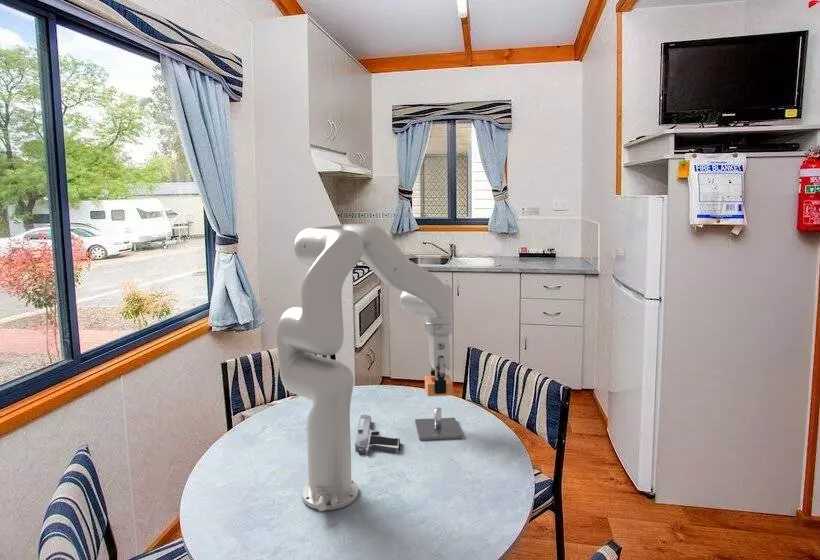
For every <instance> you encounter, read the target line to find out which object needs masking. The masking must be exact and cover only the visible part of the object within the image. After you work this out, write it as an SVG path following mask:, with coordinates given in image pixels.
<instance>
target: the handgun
mask: <svg viewBox="0 0 820 560" xmlns="http://www.w3.org/2000/svg"><path fill="white" fill-rule="evenodd" d="M358 423H359V424H358V429H357V434H356V439H355V442H354V447H355V448H354V451H355V452H356V453H358V454H359V455H363V454H365V456H366V457H368V456H369V453H370V452H372V451H373V450H377V451H376V452H382V451H383V453H389V454H395V453H396V454H399V452H400V451H401V450H400V449H401V439H400V438H399V437H396V438H395V437H394V438H393V437H385V436H381V430H372V429H371V425H372V416H371V415H369V414H361V415H360V417H359V422H358ZM373 452H374V451H373Z"/></svg>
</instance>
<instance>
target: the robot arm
mask: <svg viewBox="0 0 820 560" xmlns="http://www.w3.org/2000/svg"><path fill="white" fill-rule="evenodd" d="M293 248H294V253H295V256H296V258H297V259H298V260H299V261H300V262H301V263H303V264H304V265H307V266H311V267H310V268H309V269H308V271H307V272H306V274H305V276H304V277H303V280H302V283H301V287H300V288H301V289H300V306H294V307H290V308H288V309H286V310H285V311H284V312H283V314H281V316H280V318H279V321H278V324H277V327H276V333H275V334H276V347H277V357H278V369H279V377H280V380H281V382H282V386H283V387H284V388H285V389H286V390H287V391H288V392H290V393H292V394H294V395H296V396H300V397H302V398H306V399H308V400H310V401H312V407H311V409H310V410H309V413H308V415H307V418H306V442H307V467H308V468H307V470H308V471H307V472H308V483H307V484H306V485H305V486H304V487H303V489H302V491H301V498H302V502H303V503H304V504H305V505H306V506H308V507H310V508H311V509H314V510H318V511H320V512H323V511H333V510H334V511H335V510H339V509H342V508H345V507H347V506H349V505H350V504H352V503H353V502H355V500H356V499H357V498H358V497H359V485H358V484H357V483H356V482H355V481H354V480H353V479H352V453H351V452H352V450H351V449H352V447H351V446H352V444H351V403H352V396H353V393H354V392H353V391H354V386H355V385H354V384H355V379H354V374H353V372H352V370H351V368H350V367H348V366H347V365H346V364H345V363H343V362H341V361H339V360H336V359H332V358H328V357H327V356H333V355H336V354H338V353H339V351H340V350H341V349H342V347H343V344H344V337H345V335H344V319H343V317H344V316H343V301H342V297H343V295H342V293H343V292H342V291H343V287H344V283H345V281H346V279H347V277H348V275H349V274H350V273H351V271H352V270H353V269H354V268H355V266H356V265H357V264H358V263H359V261H362V262H364V264H366V266H367V267H369V269H370V270H371V271H372V272H373V273H374V274H375V275H376V276H377V277H378V278H379V280H380V281H381V282H382V283H383V284H384V285H386V286H388V287H391V288H392V289H395V290H396V291H400V292H402V293H400V296H399V305H400V307H401V309H402V310H403V311H404V312H405V313H408V314H411V315H417V316H424V334H426V335H428V359H429V363H430V366H431V367H430V368H431V370H430V376H435V377H436V380H435V394H445V393H446V375H447V374H446V370H448V371H449V370H451V350H450V349H451V347H450V335H452V333H453V332H452V331H453V289H452V287H451V286H450V284H447V283H443V282H442V280H441V279H439V277H437V276H436V275H435V274H434V273H432V272H430V271H429V270H427V269H426V268H424V267H422V266H421V265H419V264H418V263H416V262H413V261H412V260H410V259H409V258H408V257H407V256H406V255H405V253H404V252H403V251H402V249H401V248H399V246H398V245H397V244H396V243H395V241H394V240H393V239H392V237H391V236H390V235H389V234H388V232H387V231H386V230H385V229H384V228H382V227H381V226H379V225H376V224H369V223H368V224H364V223H344V224H335V225H334V224H333V225H326V226H324V225H323V226H315V227H313V226H312V227H307V228H305V229H303V230H302V231H300V232H299V233H298V234H297V236H296V238H295V241H294V245H293ZM324 356H325V357H324Z"/></svg>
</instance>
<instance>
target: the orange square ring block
mask: <svg viewBox="0 0 820 560" xmlns="http://www.w3.org/2000/svg"><path fill="white" fill-rule="evenodd" d="M435 380H436V377H435V376H431V375H424V389H425V392H426V395H427V397H441V396H442V397H446V396H454V382H453V381H452V379H451V377H450V375H449V374H446V393H445V394H435Z"/></svg>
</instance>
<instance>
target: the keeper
mask: <svg viewBox="0 0 820 560" xmlns="http://www.w3.org/2000/svg"><path fill="white" fill-rule="evenodd" d="M433 412H434V413H433V415H434V417H433V418H416V419H414V423H415V429H416V432H417V435H418V436H419V437H418V436H417V437H418V439H419V440H420V441H436V440H437V441H439V440H438V439H442V440H456V439H455V438H462V439H463V433H462V431H461V429H460V426H459V424H458V422H457V420H456V417H443V418H442V408H441V407H438V406H437V407H435V408H434V411H433Z"/></svg>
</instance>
